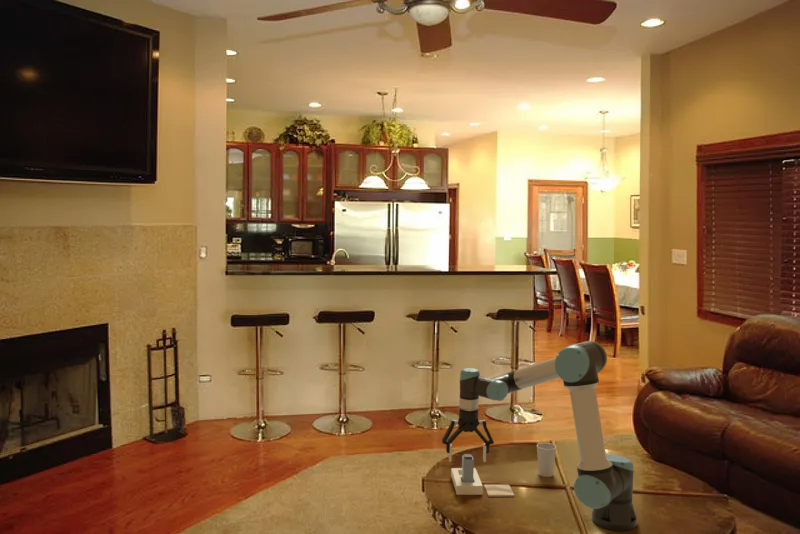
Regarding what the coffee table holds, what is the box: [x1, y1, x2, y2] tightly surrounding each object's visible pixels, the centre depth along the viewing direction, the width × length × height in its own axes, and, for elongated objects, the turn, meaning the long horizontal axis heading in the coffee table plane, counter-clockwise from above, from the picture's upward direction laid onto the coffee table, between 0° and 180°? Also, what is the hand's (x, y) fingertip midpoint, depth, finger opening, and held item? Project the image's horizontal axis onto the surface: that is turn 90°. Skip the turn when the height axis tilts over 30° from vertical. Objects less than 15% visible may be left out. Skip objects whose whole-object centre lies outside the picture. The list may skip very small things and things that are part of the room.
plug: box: [461, 453, 475, 482], centre depth 257 cm, size 4×4×13 cm
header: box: [450, 467, 484, 496], centre depth 260 cm, size 18×10×4 cm, turn 2°
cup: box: [536, 442, 557, 478], centre depth 272 cm, size 8×8×12 cm
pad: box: [483, 484, 515, 498], centre depth 255 cm, size 10×10×1 cm
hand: (467, 460), depth 257 cm, fingers open, 13 cm apart
